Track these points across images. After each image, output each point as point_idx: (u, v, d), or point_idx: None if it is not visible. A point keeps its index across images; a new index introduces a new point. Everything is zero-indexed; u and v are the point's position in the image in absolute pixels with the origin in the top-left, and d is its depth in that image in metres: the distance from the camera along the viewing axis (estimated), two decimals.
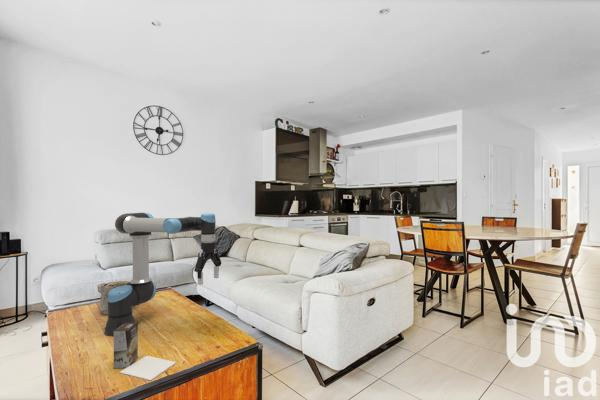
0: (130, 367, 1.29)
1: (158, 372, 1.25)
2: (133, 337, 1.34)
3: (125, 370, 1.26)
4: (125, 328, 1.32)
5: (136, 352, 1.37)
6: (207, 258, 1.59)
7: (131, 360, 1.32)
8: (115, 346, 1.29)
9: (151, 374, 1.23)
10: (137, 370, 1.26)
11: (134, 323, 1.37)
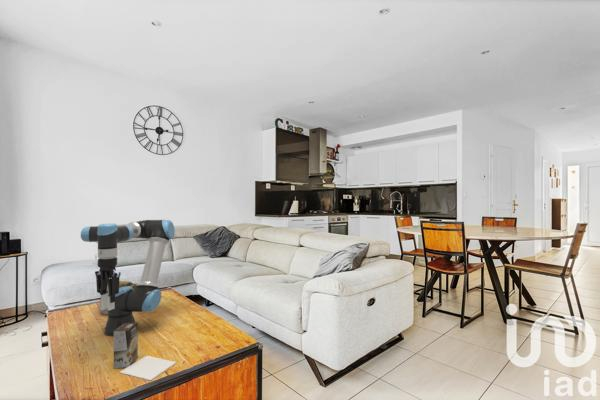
0: (130, 367, 1.29)
1: (158, 372, 1.25)
2: (133, 337, 1.34)
3: (125, 370, 1.26)
4: (125, 328, 1.32)
5: (136, 352, 1.37)
6: (101, 277, 1.36)
7: (131, 360, 1.32)
8: (115, 346, 1.29)
9: (151, 374, 1.23)
10: (137, 370, 1.26)
11: (134, 323, 1.37)
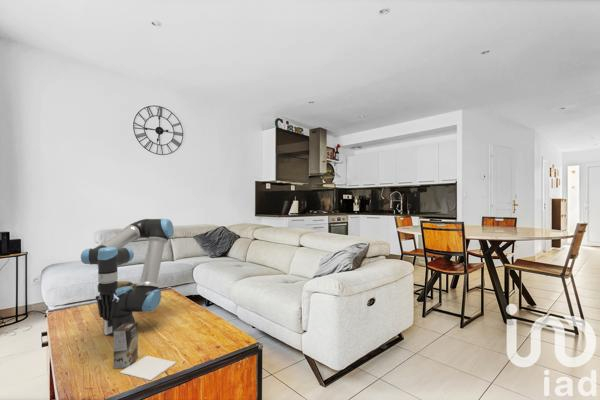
0: (130, 367, 1.29)
1: (158, 372, 1.25)
2: (133, 337, 1.34)
3: (125, 370, 1.26)
4: (125, 328, 1.32)
5: (136, 352, 1.37)
6: (102, 302, 1.36)
7: (131, 360, 1.32)
8: (115, 346, 1.29)
9: (151, 374, 1.23)
10: (137, 370, 1.26)
11: (134, 323, 1.37)
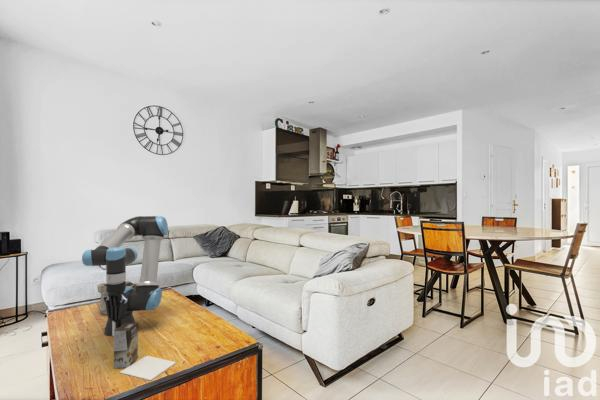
0: (130, 367, 1.29)
1: (158, 372, 1.25)
2: (133, 337, 1.34)
3: (125, 370, 1.26)
4: (125, 328, 1.32)
5: (136, 352, 1.37)
6: (110, 303, 1.34)
7: (131, 360, 1.32)
8: (115, 346, 1.29)
9: (151, 374, 1.23)
10: (137, 370, 1.26)
11: (134, 323, 1.37)
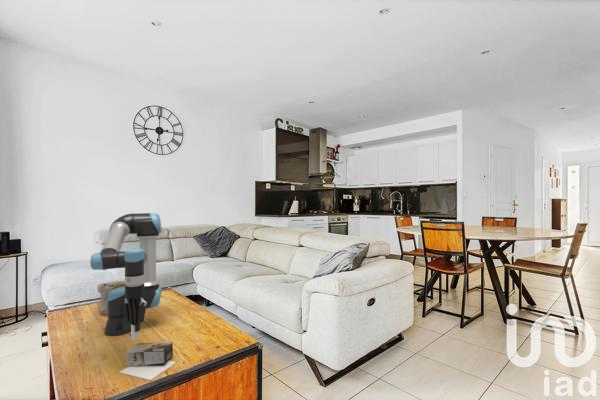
0: (130, 367, 1.29)
1: (158, 372, 1.25)
2: None
3: (125, 370, 1.26)
4: (166, 357, 1.32)
5: None
6: (128, 306, 1.30)
7: None
8: (148, 353, 1.29)
9: (151, 374, 1.23)
10: (137, 370, 1.26)
11: (171, 354, 1.37)
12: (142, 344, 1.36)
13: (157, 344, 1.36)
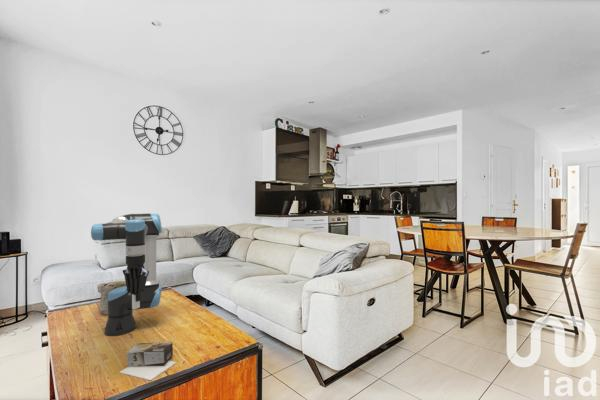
0: (130, 367, 1.29)
1: (158, 372, 1.25)
2: None
3: (125, 370, 1.26)
4: (166, 357, 1.32)
5: None
6: (129, 276, 1.31)
7: None
8: (148, 353, 1.29)
9: (151, 374, 1.23)
10: (137, 370, 1.26)
11: (171, 354, 1.37)
12: (142, 344, 1.36)
13: (157, 344, 1.36)
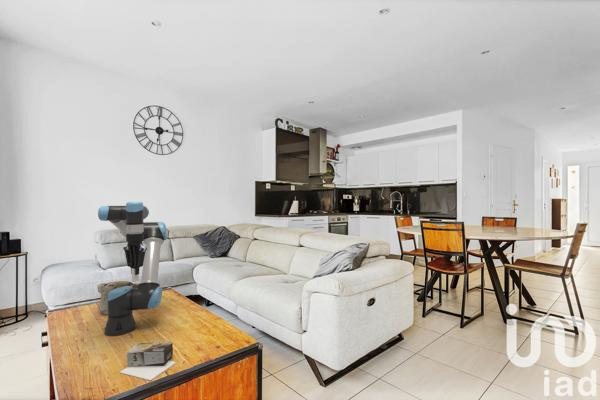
0: (130, 367, 1.29)
1: (158, 372, 1.25)
2: None
3: (125, 370, 1.26)
4: (166, 357, 1.32)
5: None
6: (129, 252, 1.46)
7: None
8: (148, 353, 1.29)
9: (151, 374, 1.23)
10: (137, 370, 1.26)
11: (171, 354, 1.37)
12: (142, 344, 1.36)
13: (157, 344, 1.36)
